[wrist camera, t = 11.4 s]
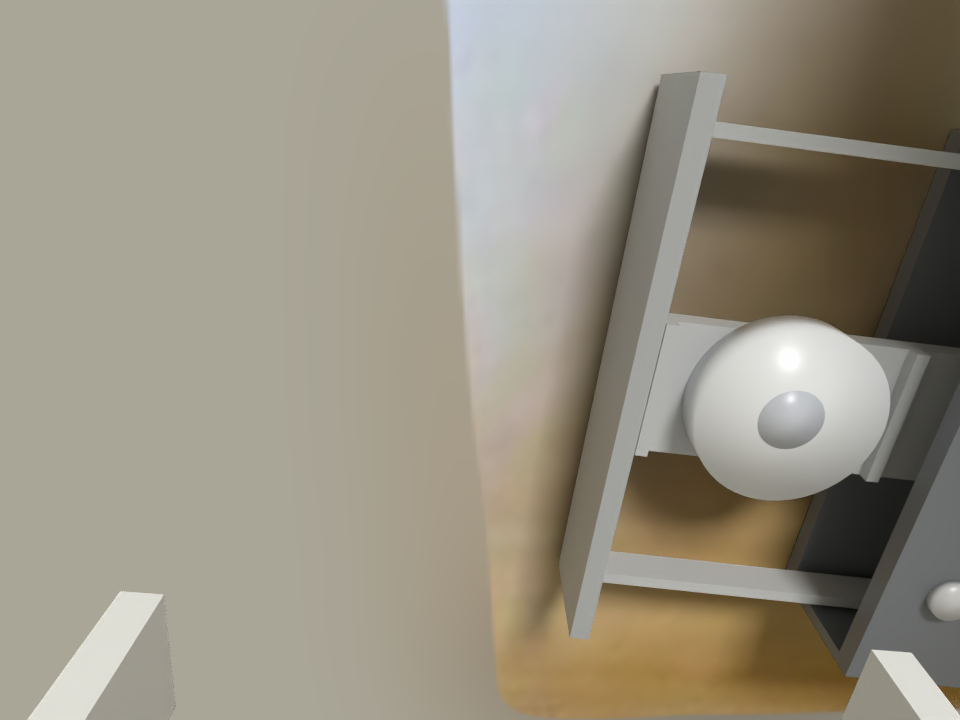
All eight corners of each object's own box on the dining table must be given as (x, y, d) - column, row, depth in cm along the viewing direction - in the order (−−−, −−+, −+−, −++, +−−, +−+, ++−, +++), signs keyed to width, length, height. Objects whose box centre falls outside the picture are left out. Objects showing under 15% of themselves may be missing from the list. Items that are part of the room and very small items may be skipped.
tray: (558, 564, 32) (569, 637, 28) (661, 74, 23) (700, 71, 19) (898, 600, 32) (960, 676, 28) (1117, 136, 24) (1252, 146, 20)
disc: (649, 376, 25) (660, 395, 23) (824, 279, 23) (847, 292, 22) (729, 504, 27) (743, 529, 26) (893, 423, 26) (918, 444, 24)
